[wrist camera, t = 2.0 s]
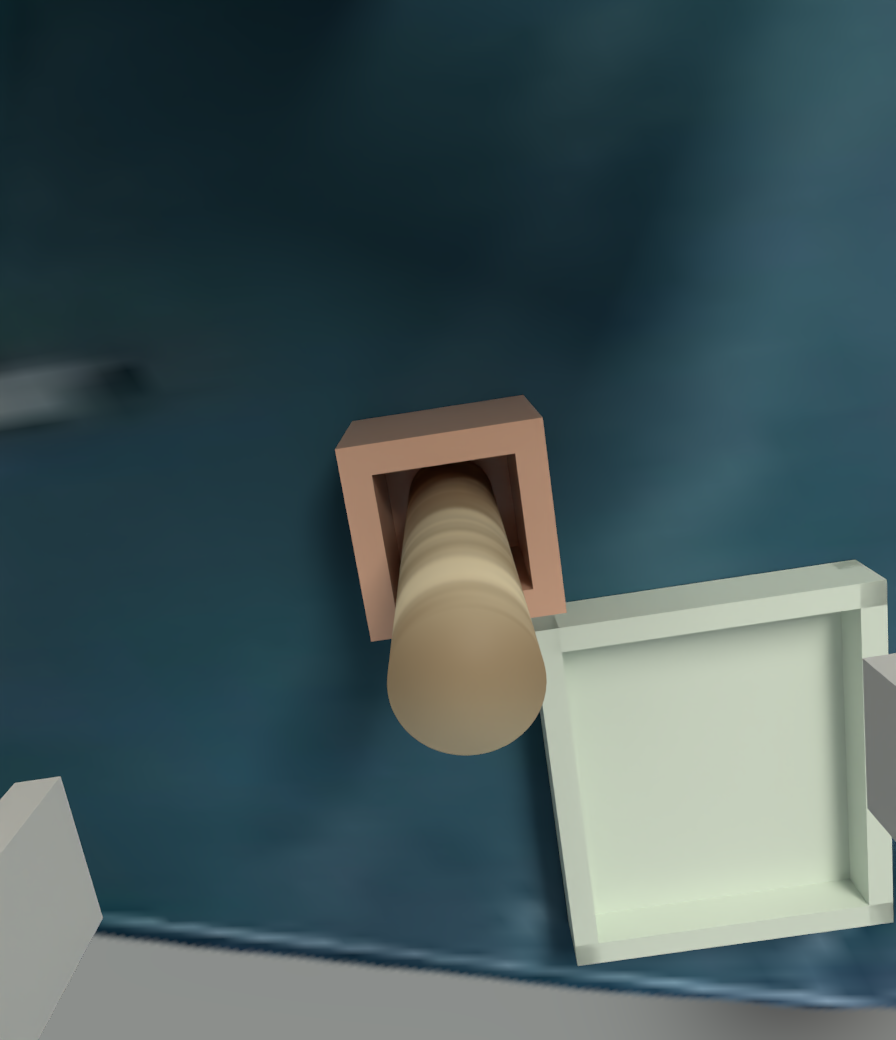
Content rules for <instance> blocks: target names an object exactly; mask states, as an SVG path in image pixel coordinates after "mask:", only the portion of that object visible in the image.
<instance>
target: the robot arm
mask: <svg viewBox="0 0 896 1040" xmlns="http://www.w3.org/2000/svg"><path fill="white" fill-rule="evenodd" d="M862 660H863V692H864V723H865V755H866V786H867V808H868V810H869V811H870V812H871V813H872V814H873V816H874V817H875V818H876V819H877V820H878V821H879V823H880V824H881V825H882V826H883V827H884V828H885V830H886V831H887V832H888V833H889V834H890V835H891V837H892V838H893V839H894V840H895V841H896V653H894V654H887V655H881V656H874V657H867V658H862ZM102 919H103V917H102V914H101V910H100V907H99V904H98V900H97V897H96V893H95V890H94V887H93V883H92V880H91V877H90V873H89V870H88V867H87V863H86V860H85V857H84V853H83V850H82V847H81V843H80V840H79V837H78V833H77V830H76V827H75V823H74V820H73V816H72V813H71V810H70V806H69V803H68V800H67V796H66V793H65V790H64V786H63V783H62V780H61V776H59V777H52V778H45V779H39V780H32V781H25V782H18V783H14V784H13V786H12V787H11V788H10V789H9V790H8V791H7V793H6V794H5V795H4V796H3V797H2V798H1V800H0V1040H39V1038H40V1036H41V1034H42V1032H43V1030H44V1028H45V1027H46V1025H47V1023H48V1021H49V1019H50V1017H51V1015H52V1013H53V1012H54V1009H55V1008H56V1006H57V1004H58V1002H59V1000H60V998H61V996H62V994H63V992H64V991H65V989H66V987H67V985H68V983H69V981H70V979H71V977H72V976H73V974H74V972H75V969H76V968H77V966H78V964H79V962H80V960H81V959H82V957H83V955H84V953H85V951H86V949H87V947H88V945H89V943H90V941H91V940H92V938H93V936H94V934H95V932H96V930H97V928H98V926H99V924H100V923H101V921H102Z"/></svg>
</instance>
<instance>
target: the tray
mask: <svg viewBox="0 0 896 1040" xmlns="http://www.w3.org/2000/svg"><path fill="white" fill-rule="evenodd" d="M566 611H567V613H562V614H555V615H548V616H542V617H535V618H531V620H532V624H533V627H534V630H535V634H536V637H537V641H538V644H539V647H540V651H541V654H542V657H543V661H544V665H545V669H546V679H547V684H546V693H545V698H544V701H543V704H542V707H541V709H540V716H541V724H542V731H543V738H544V746H545V753H546V760H547V768H548V775H549V782H550V790H551V797H552V804H553V812H554V819H555V826H556V834H557V841H558V848H559V856H560V863H561V870H562V878H563V885H564V892H565V900H566V907H567V914H568V922H569V927H570V932H571V937H572V941H573V946H574V951H575V955H576V960H577V964H578V966H581V965H588V964H596V963H603V962H610V961H617V960H625V959H632V958H639V957H646V956H653V955H661V954H668V953H675V952H682V951H689V950H697V949H704V948H711V947H718V946H726V945H733V944H740V943H747V942H754V941H762V940H769V939H776V938H783V937H791V936H798V935H805V934H812V933H819V932H827V931H834V930H841V929H848V928H855V927H863V926H870V925H877V924H884V923H892V922H893V875H892V837H891V835H890V834H889V833H888V832H887V831H886V830H885V828H884V827H883V826H882V825H881V824H880V823H879V821H878V820H877V819H876V818H875V817H874V816H873V814H872V813H871V812H870V811H869V810H868V808H867V786H866V755H865V723H864V692H863V660H862V658H867V657H874V656H881V655H887V654H888V619H887V580H886V579H885V578H883V577H882V576H880V575H878V574H877V573H875V572H874V571H872V570H871V569H869V568H867V567H866V566H864V565H863V564H861V563H860V562H858V561H856V560H849V561H842V562H836V563H829V564H822V565H815V566H809V567H802V568H795V569H788V570H782V571H775V572H768V573H761V574H755V575H748V576H741V577H735V578H728V579H721V580H714V581H708V582H701V583H694V584H687V585H681V586H674V587H667V588H660V589H654V590H647V591H640V592H633V593H627V594H620V595H613V596H606V597H600V598H593V599H586V600H579V601H573V602H566Z"/></svg>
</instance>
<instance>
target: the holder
mask: <svg viewBox="0 0 896 1040" xmlns="http://www.w3.org/2000/svg"><path fill="white" fill-rule="evenodd" d="M335 453H336V458H337V463H338V469H339V474H340V479H341V485H342V490H343V495H344V500H345V506H346V511H347V516H348V522H349V527H350V532H351V538H352V543H353V548H354V553H355V559H356V564H357V569H358V575H359V580H360V585H361V591H362V596H363V601H364V607H365V612H366V617H367V622H368V628H369V633H370V638H371V642H373V641H379V640H386V639H392V632H393V624H394V615H395V607H396V598H397V590H398V582H399V573H400V565H401V556H402V548H403V539H404V531H405V522H406V514H407V506H408V497H409V490H410V486H411V483H412V480H413V478H414V477H415V475H416V473H417V472H418V471H419V470H420V469H421V468H423V467H429V466H436V465H442V464H449V463H455V462H462V461H468V460H470V461H472V462H474V463H475V464H477V465H478V466H479V467H480V468H481V469H482V470H483V471H484V472H485V474H486V475H487V477H488V478H489V480H490V483H491V486H492V489H493V493H494V496H495V499H496V503H497V506H498V509H499V513H500V516H501V520H502V523H503V526H504V530H505V533H506V536H507V540H508V543H509V546H510V550H511V553H512V556H513V560H514V563H515V567H516V570H517V573H518V577H519V580H520V583H521V587H522V590H523V593H524V597H525V600H526V604H527V607H528V610H529V614H530V617H531V618H535V617H542V616H548V615H555V614H562V613H567V611H566V603H565V595H564V587H563V579H562V570H561V562H560V554H559V546H558V538H557V530H556V522H555V514H554V506H553V498H552V489H551V481H550V473H549V465H548V457H547V449H546V441H545V433H544V425H543V417H542V416H541V415H540V414H539V413H538V411H537V410H536V409H535V408H534V407H533V406H532V405H531V403H530V402H529V401H528V400H527V399H526V398H525V396H524V395H519V396H513V397H506V398H500V399H493V400H487V401H480V402H474V403H467V404H461V405H454V406H448V407H441V408H435V409H428V410H422V411H415V412H409V413H402V414H396V415H389V416H383V417H376V418H370V419H363V420H357V421H352V422H351V424H350V426H349V427H348V429H347V430H346V432H345V434H344V435H343V437H342V439H341V440H340V442H339V443H338V445H337V447H336V448H335Z"/></svg>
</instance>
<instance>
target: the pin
mask: <svg viewBox="0 0 896 1040" xmlns="http://www.w3.org/2000/svg"><path fill="white" fill-rule="evenodd" d="M546 684H547V679H546V669H545V665H544V661H543V657H542V654H541V651H540V647H539V644H538V641H537V637H536V634H535V630H534V627H533V624H532V620H531V617H530V614H529V610H528V607H527V604H526V600H525V597H524V593H523V590H522V587H521V583H520V580H519V577H518V573H517V570H516V567H515V563H514V560H513V556H512V553H511V550H510V546H509V543H508V540H507V536H506V533H505V530H504V526H503V523H502V520H501V516H500V513H499V509H498V506H497V503H496V499H495V496H494V493H493V489H492V486H491V483H490V480H489V478H488V477H487V475H486V474H485V472H484V471H483V470H482V469H481V468H480V467H479V466H478V465H477V464H475V463H474V462H472V461H470V460H468V461H462V462H455V463H449V464H442V465H436V466H429V467H423V468H421V469H420V470H419V471H418V472H417V473H416V475H415V477H414V478H413V480H412V483H411V486H410V490H409V497H408V506H407V514H406V522H405V531H404V539H403V548H402V556H401V565H400V573H399V582H398V590H397V598H396V607H395V615H394V624H393V632H392V641H391V649H390V658H389V666H388V675H387V690H388V697H389V701H390V705H391V707H392V710H393V712H394V714H395V716H396V717H397V719H398V721H399V722H400V724H401V725H402V726H403V727H404V729H405V730H406V731H407V732H408V733H409V734H410V735H411V736H412V737H414V738H415V739H417V740H418V741H419V742H421V743H422V744H424V745H426V746H428V747H430V748H432V749H435V750H437V751H440V752H444V753H448V754H454V755H478V754H483V753H488V752H491V751H494V750H497V749H499V748H502V747H504V746H506V745H508V744H509V743H511V742H512V741H514V740H516V739H517V738H518V737H519V736H521V735H522V734H523V733H524V732H525V731H526V730H527V729H528V728H529V727H530V725H531V724H532V723H533V721H534V720H535V719H536V717H537V715H538V713H539V711H540V709H541V707H542V704H543V701H544V698H545V693H546Z"/></svg>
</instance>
